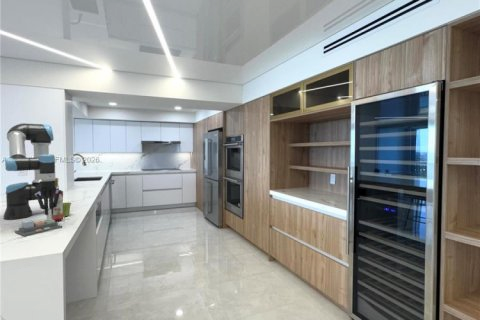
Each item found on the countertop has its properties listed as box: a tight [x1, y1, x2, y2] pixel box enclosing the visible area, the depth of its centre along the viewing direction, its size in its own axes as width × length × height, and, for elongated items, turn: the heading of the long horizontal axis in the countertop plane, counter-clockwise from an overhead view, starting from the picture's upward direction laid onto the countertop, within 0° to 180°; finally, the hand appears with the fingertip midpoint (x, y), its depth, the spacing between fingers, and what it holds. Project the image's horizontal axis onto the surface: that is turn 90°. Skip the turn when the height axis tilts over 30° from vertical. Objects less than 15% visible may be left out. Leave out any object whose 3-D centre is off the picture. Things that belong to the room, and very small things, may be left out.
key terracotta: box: [34, 221, 45, 227], centre depth 147 cm, size 4×4×3 cm
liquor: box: [52, 177, 64, 222], centre depth 166 cm, size 7×7×28 cm
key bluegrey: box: [21, 220, 35, 229], centre depth 143 cm, size 4×4×3 cm
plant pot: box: [63, 202, 72, 218], centre depth 178 cm, size 9×9×9 cm
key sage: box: [43, 219, 55, 224], centre depth 152 cm, size 4×4×3 cm
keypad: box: [14, 221, 63, 237], centre depth 148 cm, size 13×18×3 cm
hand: (49, 219), depth 152 cm, fingers closed
